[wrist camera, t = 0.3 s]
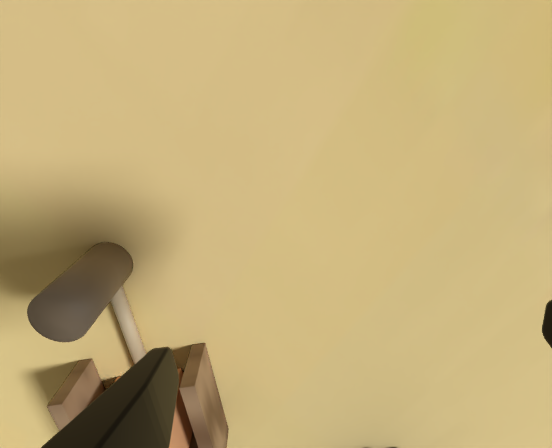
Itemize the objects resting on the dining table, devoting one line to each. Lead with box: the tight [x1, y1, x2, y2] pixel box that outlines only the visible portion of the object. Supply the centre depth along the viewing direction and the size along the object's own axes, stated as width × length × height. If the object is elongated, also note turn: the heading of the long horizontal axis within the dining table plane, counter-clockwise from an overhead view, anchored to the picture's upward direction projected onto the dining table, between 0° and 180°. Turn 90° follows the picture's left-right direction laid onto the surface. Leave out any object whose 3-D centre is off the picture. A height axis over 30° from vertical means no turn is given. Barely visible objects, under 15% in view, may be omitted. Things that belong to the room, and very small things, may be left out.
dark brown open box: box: [47, 343, 228, 448], centre depth 25 cm, size 9×10×4 cm
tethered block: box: [27, 242, 193, 448], centre depth 22 cm, size 16×5×6 cm, turn 8°
